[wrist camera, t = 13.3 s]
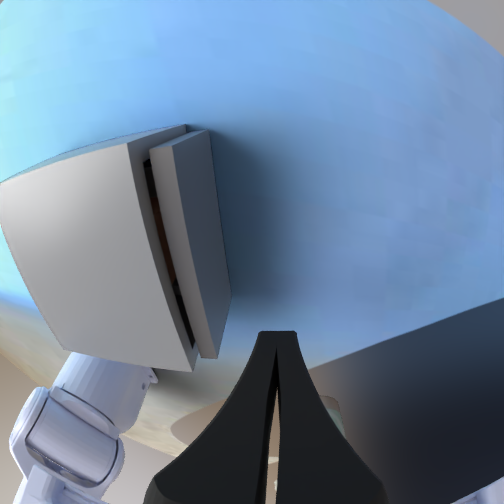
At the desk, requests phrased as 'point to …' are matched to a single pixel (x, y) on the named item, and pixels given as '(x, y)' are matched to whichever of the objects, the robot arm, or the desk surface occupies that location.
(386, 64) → the desk surface
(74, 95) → the desk surface
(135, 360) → the player housing
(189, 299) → the tray
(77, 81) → the desk surface
